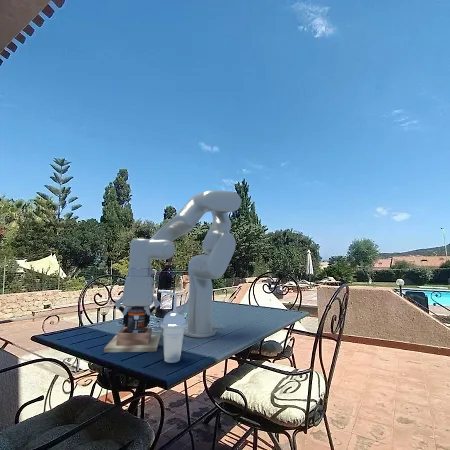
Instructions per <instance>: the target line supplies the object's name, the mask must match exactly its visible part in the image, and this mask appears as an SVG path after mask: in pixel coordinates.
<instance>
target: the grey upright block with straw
mask: <svg viewBox="0 0 450 450" xmlns="http://www.w3.org/2000/svg"><path fill="white" fill-rule="evenodd" d="M157 293H162V294H166V295H171V296H174V297H173V310H171V311H169V312H167V313H166V314H165V315H164V316H163V318H162V321H160V322H159V325H158V326H159V327H160V328H161V333H162V340H163V342H162V343H163V356H164V357H163V358H164V359H163V360H164V362H166V363H177V362H179V361H181V354H182V347H183V342H184V336H185V335H184V333H185V329H186V328H188V320H186V317H185V315H184V314H183V313H182V312H180V311H178V310H177V301H178V300H177V299H178V296H177V294H176V293H175V292H173V291H168V290H162V289H158V291H157Z"/></svg>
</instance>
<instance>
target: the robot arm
mask: <svg viewBox="0 0 450 450" xmlns="http://www.w3.org/2000/svg"><path fill="white" fill-rule="evenodd" d="M241 205H242V199H241V196H240V195H239V194H238V192H235V191H232V190H204V191H202V192H199V193H196V194H194V195H193V196H192V197H190V199H188V201H187V202H186V203H185V204H184V205H183V206H182V208H181V209H180V210H179V211H178V213H177V214H176V215H175V216H174V217H172V218H171V219H169V221H167V223H165V224H164V225H163V226H162V227H161V228H160V229H159V230H158V231H156V232H155V233H154V234H153V236H152V237H151V238H149V239H148V238H132V239H131V241H130V244H129V245H130V246H129V248H130V249H129V259H128V276H127V277H125V280H124V285H123V292H122V296H121V297H119V298H118V299H117V300H116V301H115V302H114V306H115V307H116V308H117V309H118V311H120V312H121V314H122V315H123V321H122V324H123V325H124V324H125V327H127V324H128V311H129V308H130V307H134V306H140V307H145V310H146V315H145V327H148V325H150V323H151V322H150V321H151V320H150V319H151V314H152V313H153V312H154V311H155V310H156V309H157V308H159V306H160V305H161V302H160V301H159V300H158V299H157V297H156V296H155V295H154V278H153V277H151V276H152V275H155V274H156V270H153V269H152V260H157V261H158V260H159V261H161V260H162V261H165V260H169V259H171V258H172V257H173V256H174V254H175V251H176V247H175V245H174V243H173V242H174V241H175V240H176V239H178V238H180V237H182V236H185V235H186V234H188V233H189V232H191V231H192V230H193V229H194V228H195V226H196V225H197V224H198V222H200V220H201V219H202V218H203V216H204V215H205V214H206V213H210V212H211V215H212V223H211V224H210V226H209V229H208V231H207V233H206V235H205V237H204V239H203V241H202V244H201V248H202V251H203V252H204V254H197V255H194V256H193V257H191V259H189V261H188V265H187V272H188V279H189V280H188V281H189V291H188V292H189V294H188V312H187V313H188V318H187V322H188V326H187V328H185V333H184V336H186V337H190V338H196V339H197V338H200V339H201V338H211V337H212V336H215V335H216V330H219V331H221V330H224V324H221V323H213V320H212V319H213V293H214V291H213V290H214V287H213V281H212V280H217V279H220V278H221V277H222V276H224V274H225V272H226V270H227V268H228V267H229V264H230V261H231V260H232V257H233V256H234V253H235V251H236V245H237V244H236V238H235V237H234V235H233V234H232V233H231V232H230V231H231V227H232V222H231V219H230V216H229V214H228V213H232V212H236V211H237V210H239V208H240V207H241ZM121 303H122V304H121ZM153 304H154V305H153ZM151 305H152V307H150V306H151Z"/></svg>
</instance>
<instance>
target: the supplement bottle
mask: <svg viewBox="0 0 450 450" xmlns="http://www.w3.org/2000/svg"><path fill="white" fill-rule="evenodd" d="M145 315H146V310H145V309H144V307H140V306H134V307H132V308H131V309H130V310H129V312H128V324H127V333H145Z"/></svg>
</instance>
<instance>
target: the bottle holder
mask: <svg viewBox="0 0 450 450" xmlns="http://www.w3.org/2000/svg"><path fill="white" fill-rule="evenodd" d="M152 332H153V326H147V327H145V333H127V327H124V326H123V327H122V328H121V329H120V330H119V331H118V333H117V334H116V335H115V336H113V338H112V339H110V341H109V342H108V343H107V344H106V346H105V347H104V348H103V353H105V354H106V353H142V352H144V353H145V352H157V351H158V347H159V344H160V340H161V334H152Z"/></svg>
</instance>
